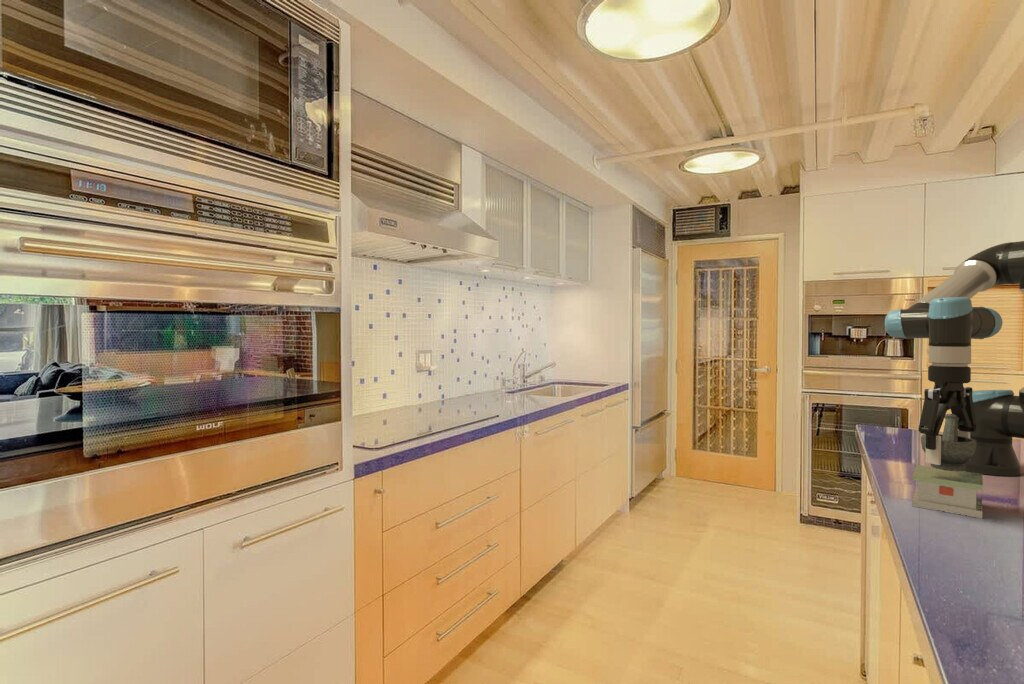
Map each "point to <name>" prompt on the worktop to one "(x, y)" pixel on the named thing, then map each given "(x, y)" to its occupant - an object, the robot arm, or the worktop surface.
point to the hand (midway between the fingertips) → (947, 461)
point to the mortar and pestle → (953, 446)
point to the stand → (948, 491)
